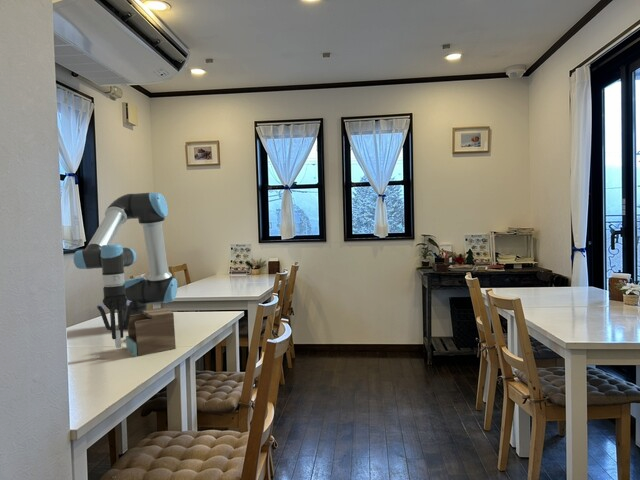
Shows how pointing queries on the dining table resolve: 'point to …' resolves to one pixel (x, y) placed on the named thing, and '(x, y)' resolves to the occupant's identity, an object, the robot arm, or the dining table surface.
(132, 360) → the dining table surface
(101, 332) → the dining table surface
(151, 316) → the wooden drawer box
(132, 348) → the teal drawer
